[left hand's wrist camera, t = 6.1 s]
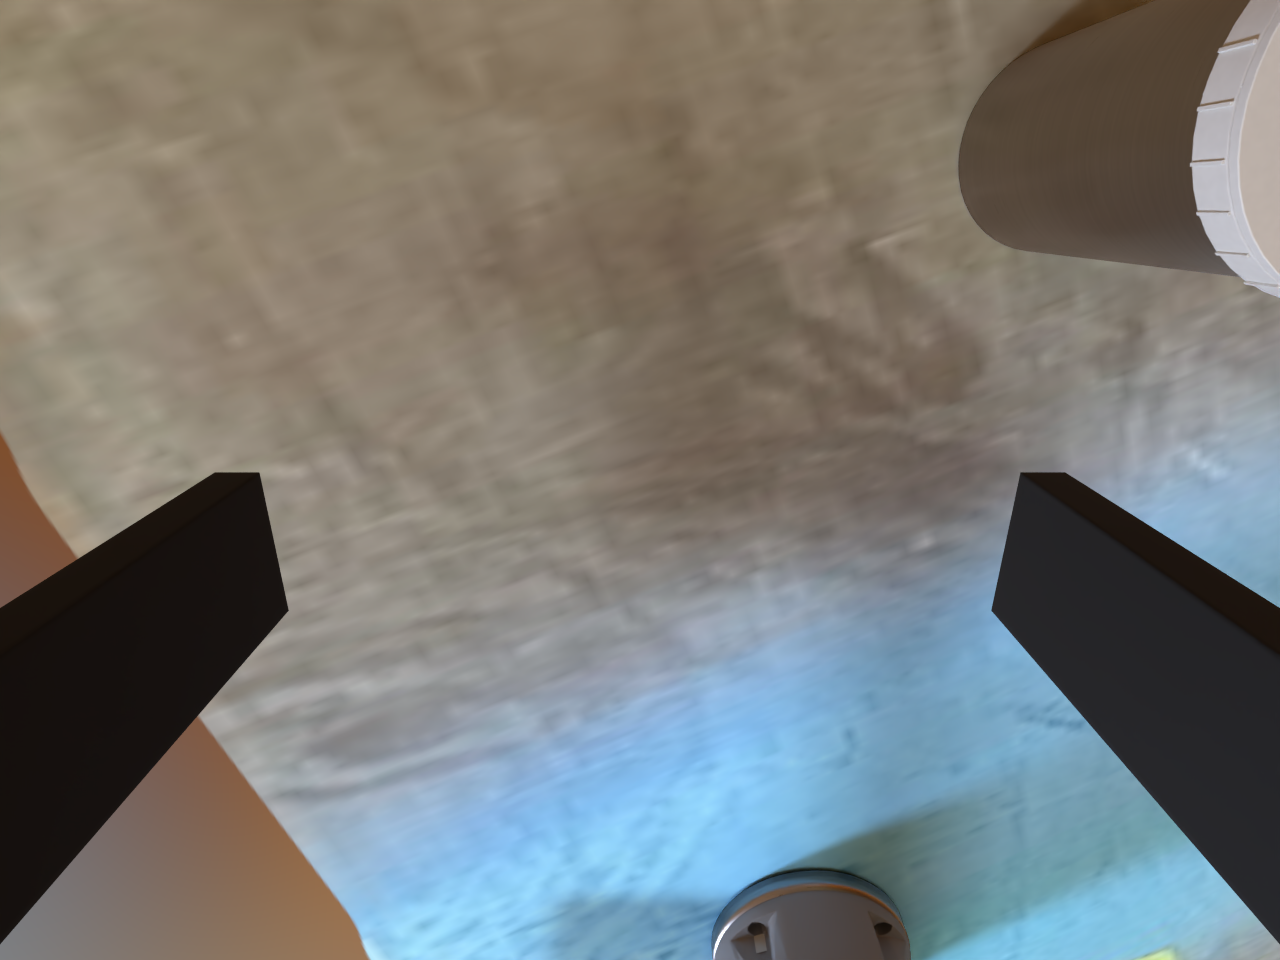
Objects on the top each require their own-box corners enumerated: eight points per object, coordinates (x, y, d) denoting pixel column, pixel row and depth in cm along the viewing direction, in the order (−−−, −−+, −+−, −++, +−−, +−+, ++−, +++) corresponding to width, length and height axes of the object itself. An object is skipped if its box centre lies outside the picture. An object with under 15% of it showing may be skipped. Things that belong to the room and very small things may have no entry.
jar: (1197, 88, 34) (1741, -24, 17) (1081, 280, 38) (1443, 342, 21) (1027, 1, 33) (1436, -212, 16) (922, 207, 37) (1169, 211, 19)
